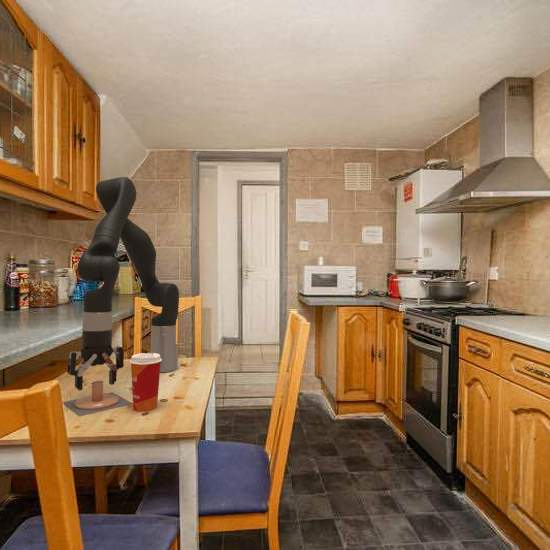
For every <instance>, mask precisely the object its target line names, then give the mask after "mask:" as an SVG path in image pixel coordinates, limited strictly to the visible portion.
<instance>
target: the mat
mask: <svg viewBox="0 0 550 550" xmlns="http://www.w3.org/2000/svg"><path fill="white" fill-rule="evenodd" d="M105 394H112V395H116V396H118V397H119V402H118V403H117V404H115V405H113V406H111V407H108V408H104V409H97V410H82V409H78V408H76V407H75V402H76V401H77V400H78V399H79V398H77V399H72V400H71V399H70V400H66V401H63V403H64V404H63V405H64V406H65V407H66V408H67V409H69V410H70V411H72V412H73V413H74V414H76V415H77V416H78V417H82V416H87V415H91V414H92V415H93V414H97V413H101V412H105V411H109V410H113V409H117V408H121V407H126V406H131V405H133V402H131V401H129V400H127V399H126V398H124V397H122V396H120V395H118V394H117V393H114V392H113V391H111V392H107V393H105Z"/></svg>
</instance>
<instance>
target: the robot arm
mask: <svg viewBox="0 0 550 550" xmlns="http://www.w3.org/2000/svg"><path fill="white" fill-rule="evenodd" d="M95 192H96V193H95V194H96V195H97V199H98V201H99V203H100V205H101V207H102V208H103V210H104V212H105V213H106V215H105V216H104V217H103V218H102V219H101V220H100V221H99V222H98V224H97V226H96V228H95V230H94V234H93V237H92V240H91V243H90V245H89V246H88V247H87V249H86V250H85V252H83V254H82V255H81V256H80V258H79V260H78V263H77V266H76V272H77V275H78V276H79V278H80V279H81V280H82V281H85V282H103V284H102V286H101V287H100V288H97V289H90V290H87V291H86V292H84V296H83V316H82V325H81V327H82V332H81V350H80V351H72V350H70V351H68V359H67V368H66V373H67V374H68V375H70V376H74V387H75V389H77V390H78V391H79V392H80V391H83V389H84V386H83V384H84V380H83V378H84V376H83V375H84V373H85V372H86V370H88V368H89V367H95V366H97V365H98V366H103V365H104V364H105V365H106V366H107V367H108V368H109V370H108V384H109V385H115V383H116V382H117V375H118V374H117V372H118V370H120V369H123V368H124V364H125V363H124V349H123V347H122V346H120V345H116V346H115V347H112V344H113V313H112V310H113V309H112V308H113V294H114V290H115V287H116V286H115V285H116V282H117V279H118V276H119V273H120V270H121V268H120V263H119V260H118V259H117V258H116V257H114V256H115V255H116V254H117V252H118V248H119V244H120V240H121V242H122V245H123V247H124V248H125V251H126V253H127V255H128V257H129V259H130V261H131V263H132V264H133V266H134V269H135V271H136V273H137V275H138V278H139V280H140V283H141V285H142V288H143V289H142V290H143V292H144V294H145V297H146V300H147V302H148V303H149V304H150V305H151V306H152V307H157V308H158V307H159V308H161V312H160V313H159V314H158V315H155V316H153V317H152V318H151V320H150V325H151V326H150V329H151V330H150V331H151V332H150V353H151V354H152V355H153V353H157V354H160V358H161V359H162V361H161V362H160V373H168V372H173V371H175V370H178V369H179V365H178V363H179V344H178V343H177V320H178V317H179V305H180V290H179V288H178V286H177V285H176V283H169V282H160V281H159V279H158V278H157V276H156V273H155V272H156V271H155V265H156V260H157V250H156V248H155V245H154V244H153V241H152V239H151V237H150V235H149V234H148V233H147V232H146V231H145V230H143V229H142V228H141V227H139V225H137V224H136V223H134V222H133V221H132V220H131V219H130V218H129V216H130V214H131V211H132V209H133V208H134V206H135V203H136V199H137V188H136V186H135V184H134V182H133V181H132V180H131V178H129V177H128V176H119V177H114V178H110V179H105V180H100V181H99V182H97V184H96V186H95ZM113 354H114V355H115V362H114V361H113V360H112V359H111V358H110V357H111V356H112V355H113ZM79 357H81V358H82V360H81V361H80V363H79V364H78V366H77V368H76V364H77V361H78V360H79Z"/></svg>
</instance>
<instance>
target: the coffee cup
mask: <svg viewBox="0 0 550 550" xmlns="http://www.w3.org/2000/svg"><path fill="white" fill-rule="evenodd" d="M161 361H162V359H161V358H160V354H157V353H153V355H152V354H151V352H146V353H145V352H143V353H142V352H141V353H135V354H133V355H132V356H131V358H130V360H129V363H130V368H131V390H132V391H131V392H132V394H131V395H132V403H133V404H132V409H133V410H134V411H135V412H142V413H143V412H150V411H154V410H156V409H157V408H158V400H159V388H160V387H159V385H160V374H161V372H160V362H161Z"/></svg>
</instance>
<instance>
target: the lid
mask: <svg viewBox="0 0 550 550" xmlns="http://www.w3.org/2000/svg"><path fill="white" fill-rule="evenodd" d="M116 395H117V394H116ZM116 395H112V394H106V393H104V381H103V380H94V381H92V382H91V395H87V396H83V397H80V398H77V399H78V400H77V401H76V402H75V407H76V408H78V409H82V410H97V409H104V408H108V407H111V406H113V405H115V404H117V403H118V402H119V397H118V396H119V395H118V396H116Z"/></svg>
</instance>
